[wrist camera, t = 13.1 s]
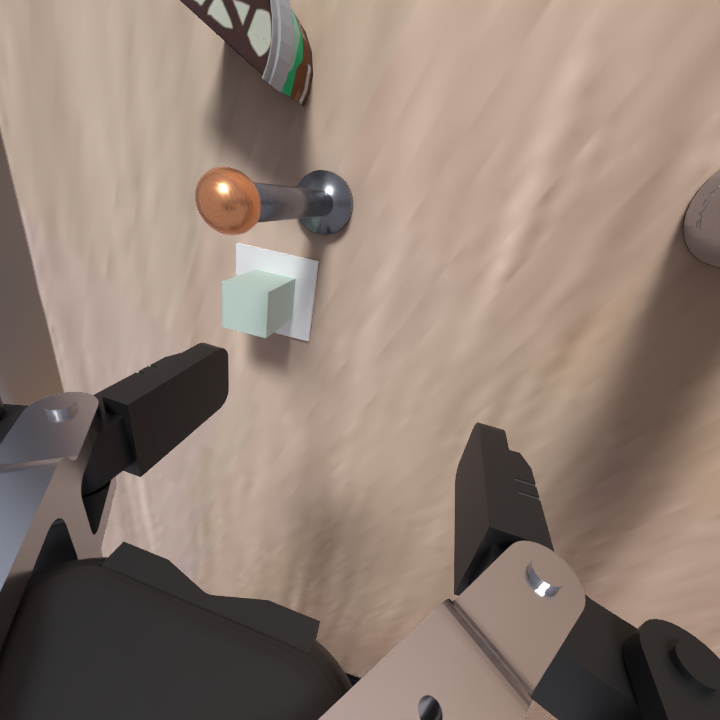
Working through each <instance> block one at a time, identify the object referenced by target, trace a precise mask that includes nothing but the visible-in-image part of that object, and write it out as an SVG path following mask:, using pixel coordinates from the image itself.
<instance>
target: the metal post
mask: <svg viewBox="0 0 720 720" xmlns="http://www.w3.org/2000/svg"><path fill="white" fill-rule="evenodd" d="M195 201H196V206H197V209H198V211H199V213H200V215H201V217H202V218H203V220H204V221H205V222H206V223H207V224H208V225H209V226H210V227H211V228H213V229H214V230H216V231H218V232H220V233H223V234H226V235H240V234H244V233H246V232H248V231H249V230H251V229H252V228H253V227H254V226H255V225H256V223H257V222H267V221H278V220H288V219H300V221H301V223H302V224H303V225H304V226H305V227H306V228H307V229H308V230H310V231H312V232H314V233H317V234H321V235H326V234H331V233H335V232H337V231H339V230H341V229H342V228H343V227H344V226H345V225H346V224H347V223H348V221H349V219H350V217H351V214H352V210H353V197H352V193H351V191H350V188H349V186H348V185H347V183H346V182H345V181H344V180H343V179H342V178H341V177H340V176H338V175H337V174H335V173H332V172H329V171H324V170H318V171H314V172H311V173H309V174H307V175H306V176H305V177H304V178H303V179H302V180H301V181H300V183H299V185H298V187H288V186H280V185H272V184H263V183H255V182H252V181H251V179H250V178H249V177H248V176H246V175H245V174H244V173H242V172H240V171H238V170H236V169H233V168H230V167H218V168H214V169H211V170H209V171H208V172H206V173H205V174H204V175H203V176H202V177H201V178H200V180H199V182H198V184H197V187H196V191H195Z"/></svg>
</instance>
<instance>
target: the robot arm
mask: <svg viewBox="0 0 720 720" xmlns="http://www.w3.org/2000/svg"><path fill="white" fill-rule="evenodd" d="M684 238H685V241H686V244H687V247H688V248H689V250H690V251H691V253H692V254H693V255H694V256H696V257H697V258H698V259H699V260H701V261H703V262H705V263H707V264H710V265H713V266H718V267H720V170H719V171H718V172H717V173H715V174H714V175H713V176H712V177H710V178H709V180H708V181H707V182H706V183H705V184H704V185H703V186H702V187H701V188H700V189H699V191H698V192H697V194H696V195H695V197H694V198H693V200H692V201H691V203H690V206H689V208H688V210H687V213H686V216H685V221H684ZM228 389H229V388H228V353H227V351H226V350H225V349H223V348H220V347H216V346H213V345H209V344H206V343H199V344H197V345H196V346H194V347H192V348H190V349H188V350H186V351H185V352H183V353H179V354H175V355H172V356H168V357H165V358H163V359H161V360H159V361H157V362H155V363H153V364H151V366H150V367H149V366H148V367H146V368H144V369H142V370H140V371H139V373H134V374H132V375H131V376H129V377H127V378H125V379H123V380H121V381H119V382H117V383H115V384H114V385H112V386H110V387H108V388H106V389H104V390H102V391H100V392H98V393H97V394H95V395H91V394H88V393H83V392H67V393H60V394H55V395H51V396H48V397H45V398H43V399H40V400H38V401H36V402H34V403H32V404H31V405H29V406H23V405H9V404H3V402H2V400H1V397H0V720H522V719H523V717H524V716H525V714H526V712H527V710H528V708H529V707H530V705H531V702H532V700H534V701H536V702H537V703H538V704H539V705H541V706H542V707H543V708H544V709H546V710H547V711H548V712H549V713H551V714H552V715H553V716H554V717H556V718H557V719H558V720H720V659H719V658H718V657H717V656H716V655H715V654H714V653H713V652H712V651H711V650H710V649H709V648H708V647H707V646H706V645H705V644H703V643H702V642H701V641H700V640H698V639H697V638H696V637H694V636H693V635H692V634H690V633H689V632H687V631H686V630H684V629H682V628H680V627H679V626H677V625H674V624H672V623H670V622H667V621H664V620H658V619H650V620H648V621H646V622H644V623H643V624H642V625H641V626H640V627H639V628H638V629H637V628H635V627H634V626H632V625H631V624H629V623H627V622H626V621H624V620H623V619H621V618H619V617H618V616H616V615H615V614H613V613H612V612H610V611H608V610H607V609H605V608H604V607H602V606H600V605H599V604H597V603H596V602H594V601H593V600H591V599H590V598H589V597H588V596H586V595H585V593H584V590H583V587H582V584H581V582H580V580H579V579H578V577H577V575H576V574H575V572H574V571H573V570H572V568H571V567H570V566H569V565H568V564H567V563H566V562H565V561H564V560H563V559H562V558H561V557H560V556H559V555H557V554H556V553H555V552H554V549H553V546H552V542H551V538H550V535H549V531H548V527H547V524H546V520H545V517H544V513H543V509H542V506H541V502H540V500H539V495H538V491H537V488H536V487H535V480H534V477H533V473H532V469H531V468H530V466H529V465H528V463H527V462H526V461H525V459H524V458H523V457H522V455H521V454H520V453H518V452H514V451H511V450H509V448H508V443H507V438H506V433H505V431H504V430H502V429H499V428H495V427H492V426H488V425H485V424H481V423H476V424H475V426H474V428H473V430H472V433H471V435H470V438H469V440H468V443H467V445H466V447H465V450H464V452H463V455H462V457H461V460H460V462H459V465H458V469H457V473H456V479H455V554H454V594H455V595H458V597H457V598H456V599H455V600H454V601H451V600H450V599H447V600H445V601H444V602H442V603H441V604H440V605H439V606H438V607H436V608H435V609H434V610H433V611H432V612H431V613H430V614H429V615H428V616H427V617H426V618H425V619H424V620H423V621H422V622H421V623H420V624H418V625H417V626H416V627H415V628H414V629H413V630H412V631H411V632H410V633H409V634H408V635H407V636H406V637H405V638H404V639H403V640H402V641H401V642H399V643H398V644H397V645H396V646H395V647H394V648H393V649H392V650H391V651H390V652H389V653H388V654H387V655H386V656H385V657H384V658H383V659H382V660H380V661H379V662H378V663H377V664H376V665H375V666H374V667H373V668H372V669H371V670H370V671H369V672H368V673H367V674H366V675H365V676H364V677H363V678H362V679H360V680H359V681H358V682H357V683H356V684H355V685H354V686H352V685H351V683H350V681H349V679H348V677H347V675H346V674H345V672H344V671H343V669H342V668H341V666H340V665H339V663H338V662H337V661H336V660H335V658H334V657H333V656H332V655H331V654H330V653H329V652H328V651H327V649H326V648H325V647H323V646H322V645H321V644H320V643H319V642H318V641H317V640H316V637H317V633H318V628H319V623H320V621H318V620H315V619H313V618H310V617H308V616H305V615H303V614H300V613H298V612H296V611H293V610H291V609H288V608H286V607H283V606H281V605H278V604H276V603H273V602H271V601H268V600H259V599H248V598H237V597H226V596H215V595H209V594H207V593H205V592H204V591H202V590H201V589H200V588H199V587H198V586H197V585H196V584H195V583H194V582H192V581H191V580H190V579H189V578H188V577H187V576H186V575H185V574H184V573H182V572H181V571H180V570H179V569H178V568H177V567H176V566H175V565H174V564H172V563H171V562H170V561H169V560H167V559H165V558H163V557H160V556H158V555H155V554H153V553H150V552H148V551H145V550H143V549H140V548H138V547H135V546H133V545H131V544H128V543H126V542H123V543H122V544H121V545H120V546H119V547H118V548H117V549H116V550H115V551H114V552H113V553H112V554H111V555H110V556H109V557H108V558H107V557H102V558H101V547H102V542H103V538H104V534H105V530H106V526H107V521H108V517H109V513H110V509H111V505H112V501H113V497H114V493H115V489H116V484H117V483H116V478H115V476H117V475H118V474H119V473H120V472H122V471H126V472H128V473H131V474H134V475H137V476H139V477H141V476H142V475H144V474H145V473H146V472H147V471H148V470H149V469H150V468H152V467H153V466H154V465H155V464H156V463H157V462H159V461H160V460H161V459H162V458H163V457H164V456H165V455H167V454H168V453H169V452H170V451H171V450H172V449H174V448H175V447H176V446H177V445H178V444H179V443H180V442H182V441H183V440H184V439H185V438H186V437H187V436H189V435H190V434H191V433H192V432H193V431H194V430H195V429H197V428H198V427H199V426H200V425H201V424H202V423H204V422H205V421H206V420H207V419H208V418H209V417H211V416H212V415H213V414H214V413H215V412H216V411H217V410H219V409H220V408H221V407H222V405H223V404H224V402H225V401H226V398H227V395H228Z"/></svg>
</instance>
